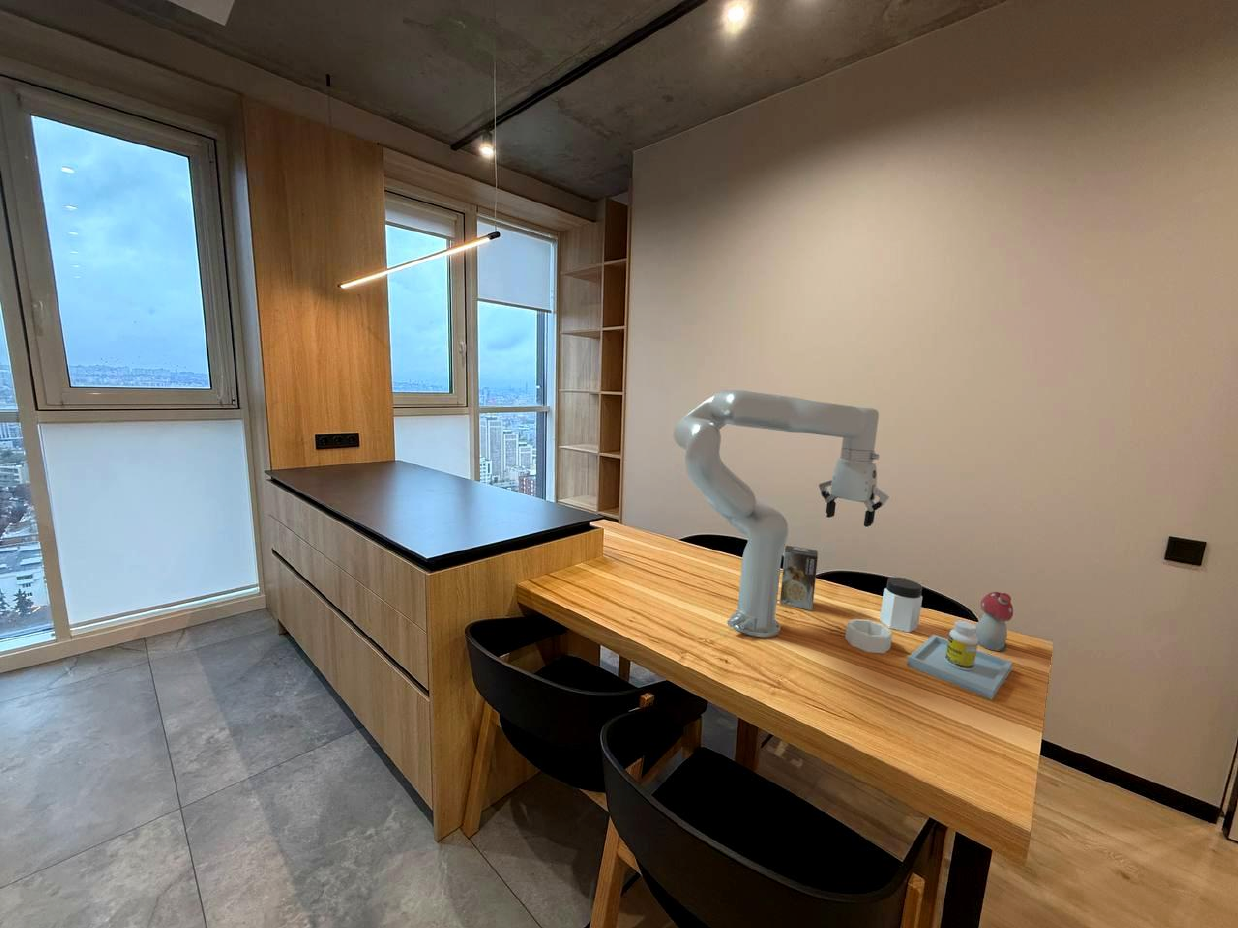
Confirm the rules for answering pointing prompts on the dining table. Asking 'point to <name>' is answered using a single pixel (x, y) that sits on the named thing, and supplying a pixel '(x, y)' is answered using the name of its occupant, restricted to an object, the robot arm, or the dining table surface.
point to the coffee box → (799, 577)
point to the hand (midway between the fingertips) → (848, 521)
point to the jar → (901, 604)
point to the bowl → (868, 636)
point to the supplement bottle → (962, 646)
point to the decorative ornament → (994, 621)
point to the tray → (978, 680)
